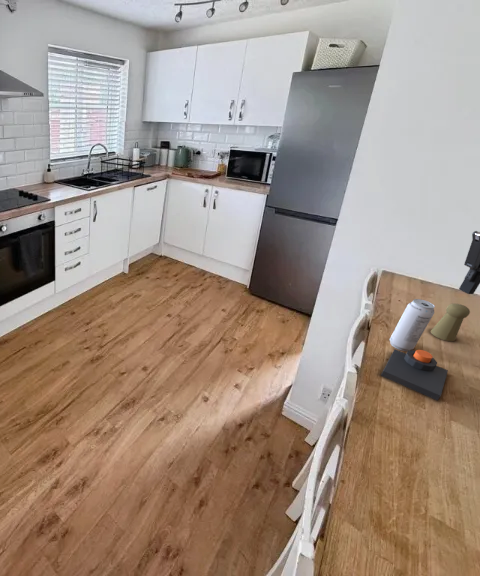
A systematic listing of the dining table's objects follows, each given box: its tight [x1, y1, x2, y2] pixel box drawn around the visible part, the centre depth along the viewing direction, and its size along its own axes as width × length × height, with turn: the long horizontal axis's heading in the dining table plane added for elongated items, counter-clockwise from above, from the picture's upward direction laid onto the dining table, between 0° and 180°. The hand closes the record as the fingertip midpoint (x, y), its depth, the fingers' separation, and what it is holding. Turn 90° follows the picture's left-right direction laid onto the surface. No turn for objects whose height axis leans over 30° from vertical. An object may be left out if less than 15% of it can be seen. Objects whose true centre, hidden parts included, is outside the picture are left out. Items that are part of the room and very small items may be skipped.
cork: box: [430, 302, 471, 342], centre depth 113 cm, size 6×6×11 cm
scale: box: [380, 348, 449, 402], centre depth 98 cm, size 15×12×4 cm
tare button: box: [413, 349, 434, 363], centre depth 100 cm, size 4×4×2 cm
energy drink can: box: [389, 298, 436, 352], centre depth 107 cm, size 6×6×15 cm
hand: (465, 291), depth 99 cm, fingers closed
